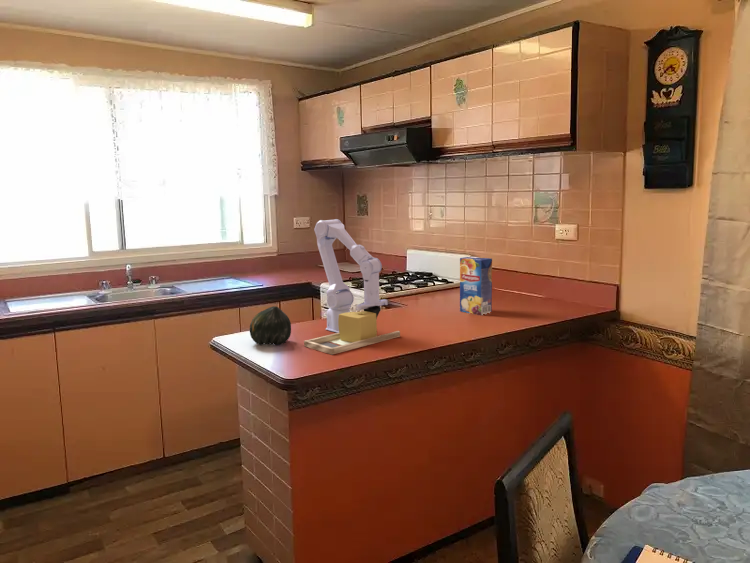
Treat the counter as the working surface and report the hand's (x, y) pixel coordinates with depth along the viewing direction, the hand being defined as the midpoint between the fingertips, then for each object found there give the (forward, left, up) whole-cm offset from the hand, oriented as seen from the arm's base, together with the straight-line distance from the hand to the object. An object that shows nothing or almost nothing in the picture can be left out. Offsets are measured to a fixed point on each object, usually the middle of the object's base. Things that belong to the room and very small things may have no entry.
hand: (372, 326), depth 230 cm
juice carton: (+3, +60, -4) cm, 60 cm away
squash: (-20, -32, -4) cm, 38 cm away
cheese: (0, -7, -4) cm, 8 cm away
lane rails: (0, -9, -4) cm, 10 cm away
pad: (0, -10, -4) cm, 11 cm away
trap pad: (0, -21, -4) cm, 21 cm away
